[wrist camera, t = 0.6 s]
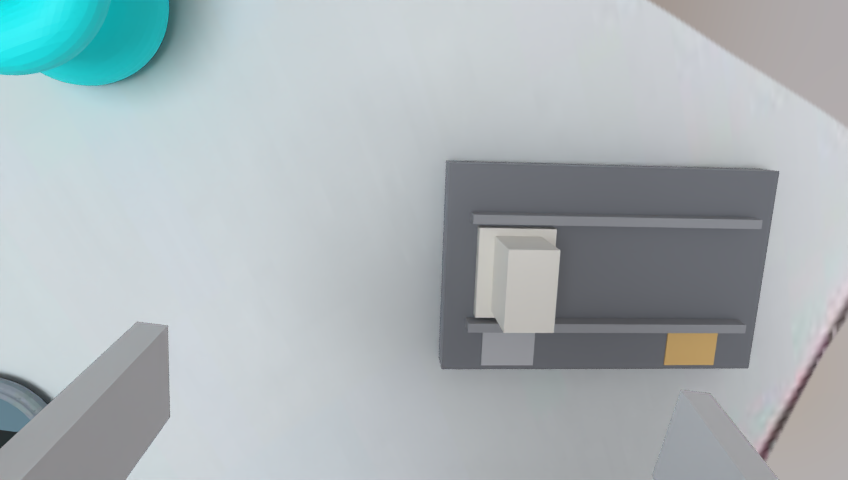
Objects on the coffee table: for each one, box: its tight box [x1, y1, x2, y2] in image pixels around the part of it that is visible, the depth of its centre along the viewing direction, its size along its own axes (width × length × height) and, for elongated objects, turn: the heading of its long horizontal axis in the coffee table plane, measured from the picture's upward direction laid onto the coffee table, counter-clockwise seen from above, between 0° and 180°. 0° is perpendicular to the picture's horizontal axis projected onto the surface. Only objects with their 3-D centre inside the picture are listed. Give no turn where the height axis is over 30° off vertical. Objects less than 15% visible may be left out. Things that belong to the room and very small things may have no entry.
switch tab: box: [473, 226, 560, 333], centre depth 34 cm, size 6×5×5 cm
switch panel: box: [439, 161, 779, 369], centre depth 38 cm, size 14×22×3 cm, turn 88°
